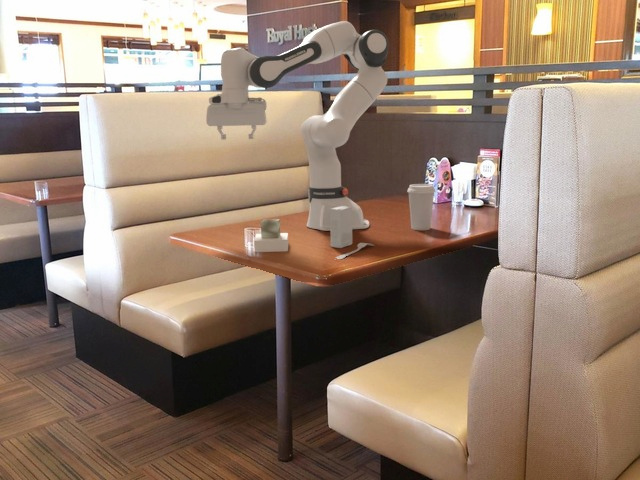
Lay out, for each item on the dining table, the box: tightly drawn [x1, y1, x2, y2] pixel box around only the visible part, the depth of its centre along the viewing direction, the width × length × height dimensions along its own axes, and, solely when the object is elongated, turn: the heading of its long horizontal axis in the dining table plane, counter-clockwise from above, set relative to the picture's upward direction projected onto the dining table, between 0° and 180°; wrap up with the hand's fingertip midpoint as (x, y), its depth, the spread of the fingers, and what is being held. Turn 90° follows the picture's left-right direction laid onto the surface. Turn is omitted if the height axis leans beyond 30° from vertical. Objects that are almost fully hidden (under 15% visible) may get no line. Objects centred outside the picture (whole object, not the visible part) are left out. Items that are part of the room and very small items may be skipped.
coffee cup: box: [407, 183, 436, 231], centre depth 218 cm, size 10×10×15 cm
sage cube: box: [260, 218, 281, 238], centre depth 196 cm, size 5×5×5 cm
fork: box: [335, 242, 375, 260], centre depth 189 cm, size 3×21×3 cm, turn 146°
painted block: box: [253, 232, 289, 253], centre depth 197 cm, size 10×10×4 cm
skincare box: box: [329, 206, 353, 249], centre depth 196 cm, size 6×4×12 cm
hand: (237, 139), depth 218 cm, fingers open, 8 cm apart
